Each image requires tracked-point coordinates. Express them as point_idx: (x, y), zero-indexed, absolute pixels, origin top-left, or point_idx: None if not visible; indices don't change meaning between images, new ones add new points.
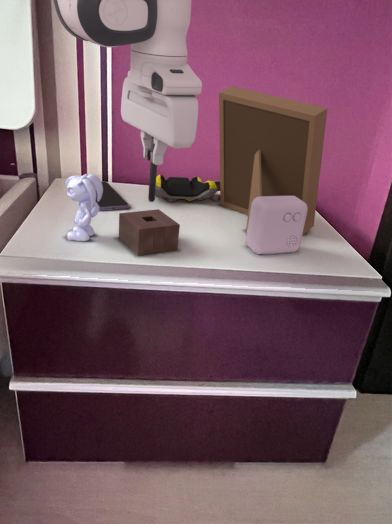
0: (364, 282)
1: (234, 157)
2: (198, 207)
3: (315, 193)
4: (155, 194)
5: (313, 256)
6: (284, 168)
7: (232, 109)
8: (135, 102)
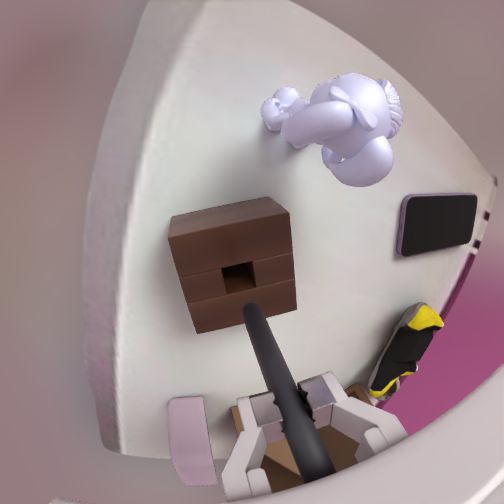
0: (109, 445)
1: None
2: (362, 357)
3: None
4: (409, 308)
5: None
6: None
7: None
8: (500, 483)
